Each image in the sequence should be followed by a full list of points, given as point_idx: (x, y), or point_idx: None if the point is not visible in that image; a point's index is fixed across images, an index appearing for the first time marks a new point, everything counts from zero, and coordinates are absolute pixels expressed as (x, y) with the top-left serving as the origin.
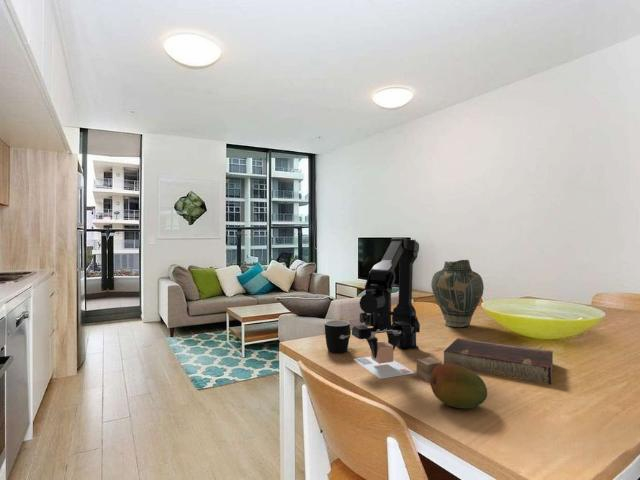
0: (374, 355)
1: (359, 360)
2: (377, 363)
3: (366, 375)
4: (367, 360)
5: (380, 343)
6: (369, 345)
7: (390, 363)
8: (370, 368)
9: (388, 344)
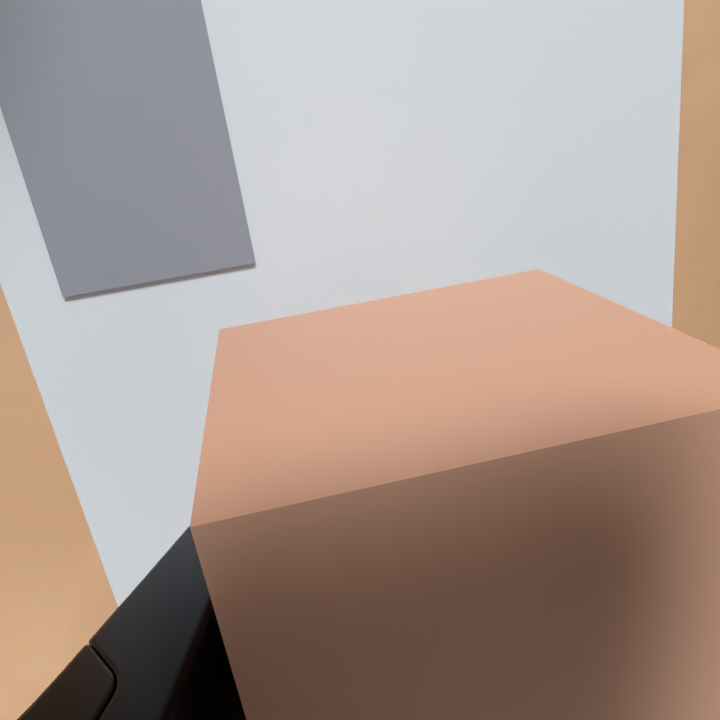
0: None
1: (4, 53)
2: (340, 287)
3: (37, 680)
4: (191, 95)
5: (524, 603)
6: (54, 708)
7: None
8: (150, 488)
9: (707, 703)
